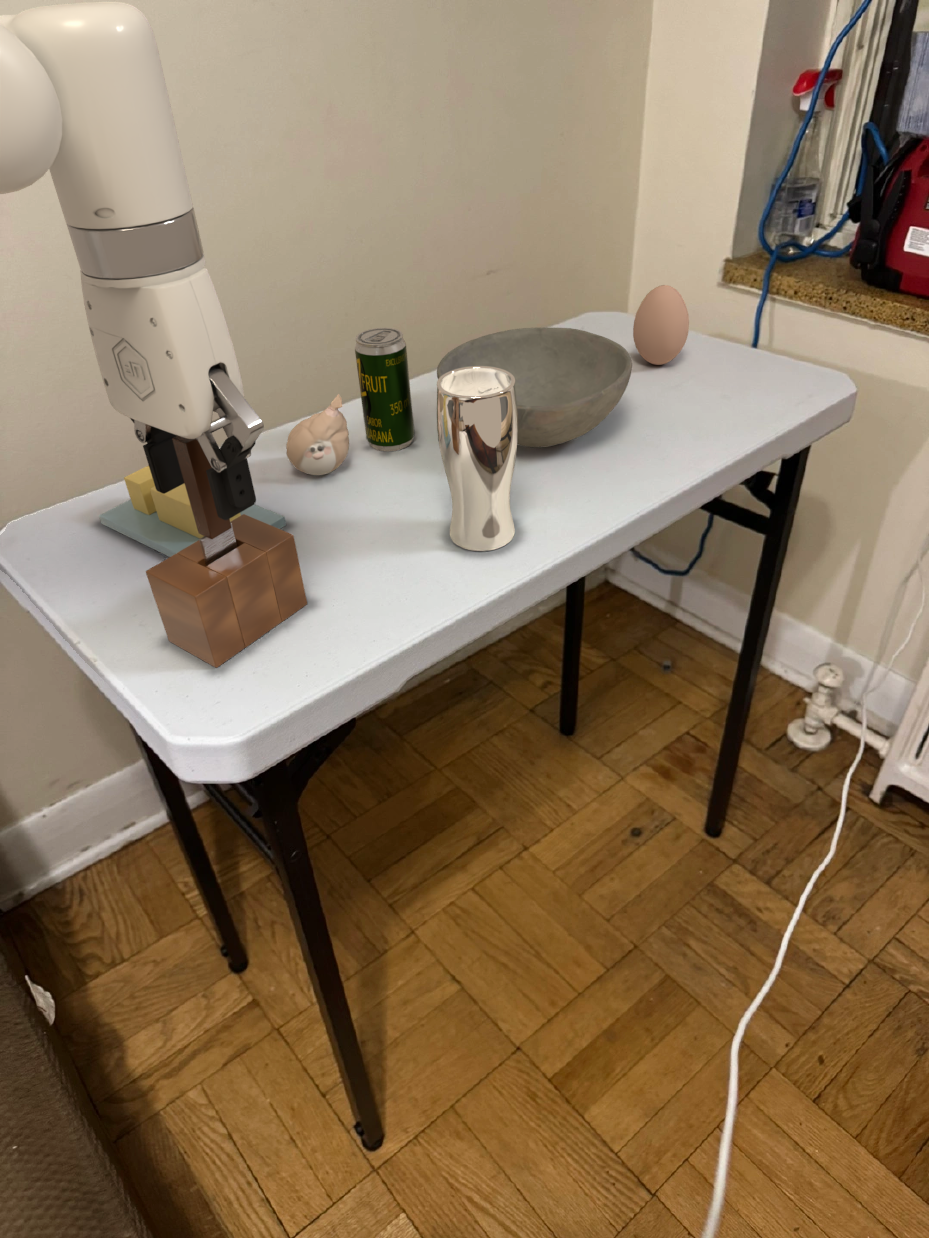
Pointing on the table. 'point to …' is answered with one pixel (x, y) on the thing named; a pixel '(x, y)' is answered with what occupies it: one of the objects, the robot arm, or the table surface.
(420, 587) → the table surface
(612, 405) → the bowl
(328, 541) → the table surface
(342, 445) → the garlic bulb
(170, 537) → the butter dish
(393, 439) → the green soda can
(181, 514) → the butter
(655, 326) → the egg
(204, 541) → the knife
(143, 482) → the butter slice
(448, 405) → the beer glass
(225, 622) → the knife block
